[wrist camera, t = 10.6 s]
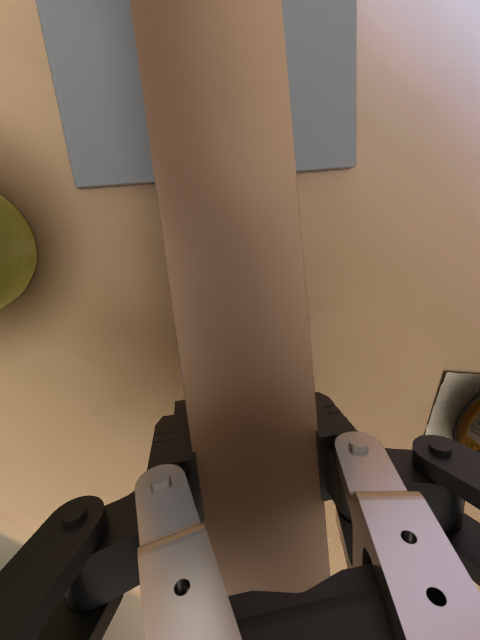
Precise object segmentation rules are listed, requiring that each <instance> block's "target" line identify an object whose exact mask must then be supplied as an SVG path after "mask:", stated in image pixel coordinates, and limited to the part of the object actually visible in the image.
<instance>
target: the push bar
mask: <svg viewBox="0 0 480 640" xmlns="http://www.w3.org/2000/svg"><path fill="white" fill-rule="evenodd" d="M130 5H131V12H132V20H133V27H134V34H135V41H136V48H137V56H138V63H139V70H140V77H141V84H142V92H143V99H144V106H145V113H146V121H147V128H148V135H149V142H150V149H151V157H152V164H153V171H154V178H155V185H156V193H157V200H158V207H159V214H160V221H161V229H162V236H163V243H164V250H165V257H166V265H167V272H168V279H169V286H170V293H171V301H172V308H173V315H174V322H175V330H176V337H177V344H178V351H179V358H180V366H181V373H182V380H183V387H184V394H185V402H186V409H187V416H188V423H189V430H190V438H191V445H192V452H195V453H196V461H197V468H198V475H199V483H200V490H201V497H202V504H203V512H204V519H205V521H202V522H203V523H204V525H205V528H206V531H207V534H208V537H209V540H210V543H211V546H212V549H213V552H214V555H215V558H216V561H217V564H218V567H219V570H220V573H221V576H222V580H223V583H224V586H225V589H226V592H227V595H228V596H230V595H235V594H239V593H243V592H248V591H252V590H255V591H272V592H289V593H301V592H305V591H307V590H308V589H310V588H312V587H314V586H315V585H317V584H319V583H320V582H322V581H324V580H326V579H327V578H329V577H330V567H329V555H328V543H327V531H326V520H325V508H324V500H321V489H320V477H319V465H318V454H317V442H316V431H318V425H317V413H316V401H315V390H314V378H313V366H312V354H311V342H310V330H309V319H308V307H307V295H306V283H305V271H304V260H303V248H302V236H301V224H300V212H299V200H298V189H297V177H296V165H295V153H294V141H293V130H292V118H291V106H290V94H289V82H288V70H287V59H286V47H285V35H284V23H283V11H282V0H130Z"/></svg>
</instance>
